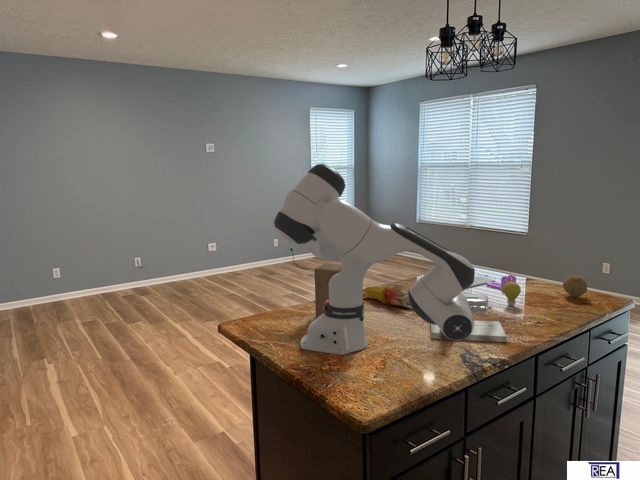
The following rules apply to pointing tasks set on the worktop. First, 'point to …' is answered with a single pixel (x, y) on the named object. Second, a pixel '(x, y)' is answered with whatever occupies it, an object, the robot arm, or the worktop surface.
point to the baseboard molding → (481, 281)
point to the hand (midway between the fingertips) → (450, 293)
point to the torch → (389, 295)
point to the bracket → (502, 282)
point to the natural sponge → (575, 286)
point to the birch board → (479, 332)
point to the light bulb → (511, 292)
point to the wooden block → (323, 284)
